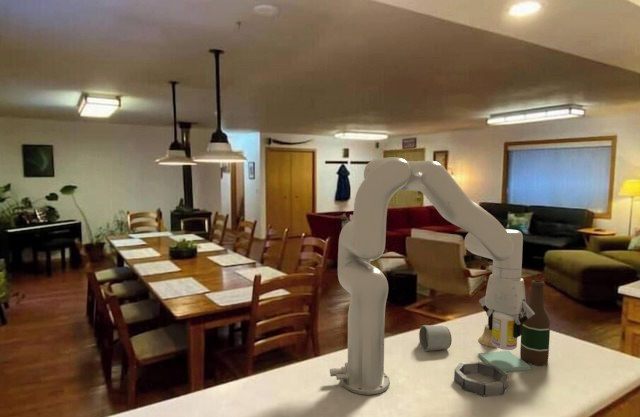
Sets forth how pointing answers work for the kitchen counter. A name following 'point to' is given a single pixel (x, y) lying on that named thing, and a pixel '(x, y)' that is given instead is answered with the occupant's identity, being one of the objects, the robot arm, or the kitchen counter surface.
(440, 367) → the kitchen counter surface
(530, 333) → the beer bottle
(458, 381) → the collar
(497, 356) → the pad
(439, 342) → the ceramic mug
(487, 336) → the hand bell
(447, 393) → the kitchen counter surface
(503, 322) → the supplement bottle
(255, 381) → the kitchen counter surface
